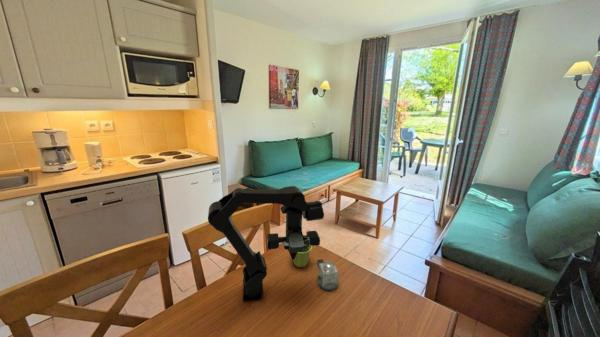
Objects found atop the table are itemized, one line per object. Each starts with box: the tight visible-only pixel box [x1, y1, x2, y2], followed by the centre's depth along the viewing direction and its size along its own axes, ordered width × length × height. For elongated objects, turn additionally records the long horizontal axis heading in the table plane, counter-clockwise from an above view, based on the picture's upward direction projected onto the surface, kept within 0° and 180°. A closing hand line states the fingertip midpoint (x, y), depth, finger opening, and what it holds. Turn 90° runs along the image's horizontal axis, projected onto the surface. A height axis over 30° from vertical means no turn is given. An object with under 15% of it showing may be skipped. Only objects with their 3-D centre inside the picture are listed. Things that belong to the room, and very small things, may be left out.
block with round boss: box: [318, 260, 339, 286], centre depth 92 cm, size 6×6×7 cm
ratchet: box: [316, 258, 339, 293], centre depth 97 cm, size 16×8×5 cm, turn 10°
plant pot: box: [292, 245, 313, 268], centre depth 103 cm, size 9×9×9 cm
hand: (292, 259), depth 88 cm, fingers closed
